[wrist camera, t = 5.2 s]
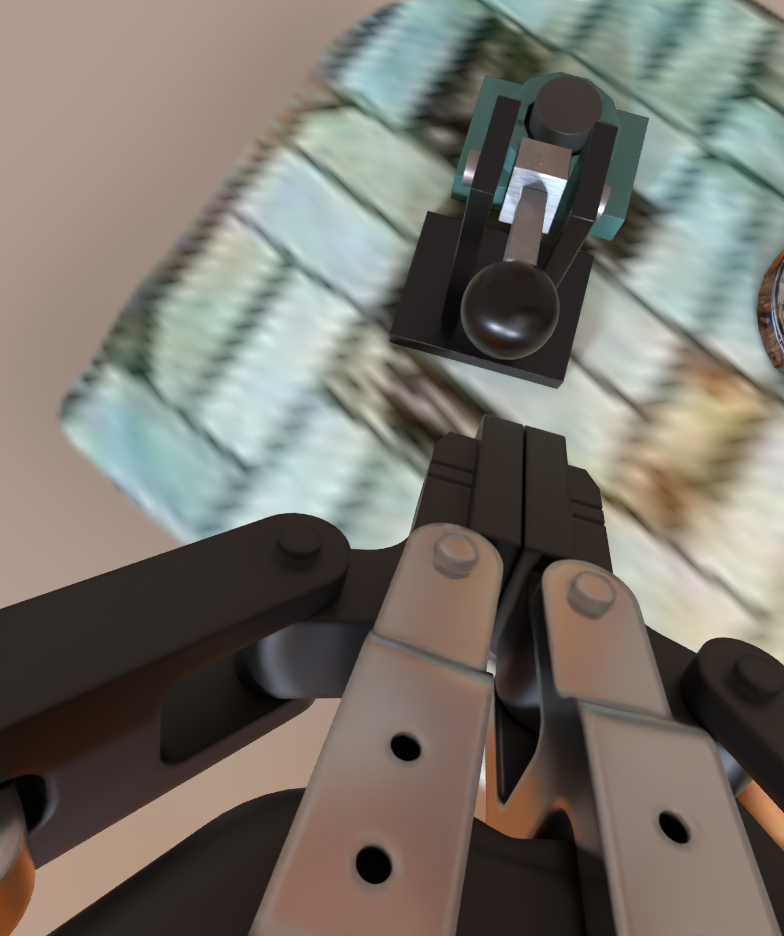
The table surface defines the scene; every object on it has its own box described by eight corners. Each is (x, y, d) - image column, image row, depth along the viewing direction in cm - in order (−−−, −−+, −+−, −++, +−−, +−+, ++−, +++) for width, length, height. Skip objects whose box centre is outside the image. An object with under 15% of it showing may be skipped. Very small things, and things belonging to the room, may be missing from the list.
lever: (536, 390, 21) (571, 312, 19) (443, 364, 22) (466, 283, 19) (561, 214, 29) (588, 142, 27) (492, 196, 29) (513, 123, 27)
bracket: (557, 389, 37) (650, 280, 24) (389, 342, 37) (395, 211, 25) (587, 266, 38) (689, 104, 26) (426, 222, 39) (449, 41, 26)
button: (598, 109, 36) (609, 85, 35) (584, 163, 36) (594, 141, 34) (536, 93, 36) (544, 68, 35) (521, 146, 36) (528, 124, 34)
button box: (634, 143, 40) (662, 94, 36) (611, 241, 39) (637, 201, 35) (479, 102, 40) (490, 49, 37) (450, 198, 39) (458, 153, 35)
